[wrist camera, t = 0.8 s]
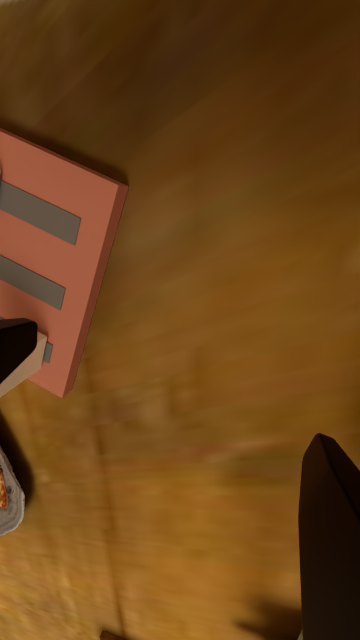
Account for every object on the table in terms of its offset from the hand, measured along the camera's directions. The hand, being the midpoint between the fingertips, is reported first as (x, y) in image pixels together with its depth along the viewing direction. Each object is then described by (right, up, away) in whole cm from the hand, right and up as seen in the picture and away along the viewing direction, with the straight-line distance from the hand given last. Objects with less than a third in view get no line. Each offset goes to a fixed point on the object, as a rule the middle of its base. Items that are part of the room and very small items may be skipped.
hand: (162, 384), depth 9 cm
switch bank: (-13, +6, +16) cm, 22 cm away
